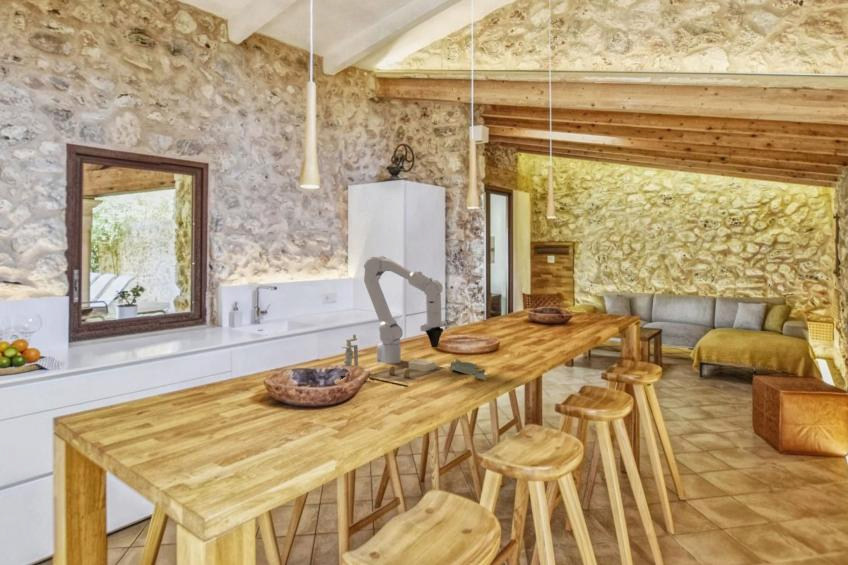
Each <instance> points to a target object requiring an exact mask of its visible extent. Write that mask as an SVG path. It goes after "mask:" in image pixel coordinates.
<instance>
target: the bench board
mask: <svg viewBox="0 0 848 565" xmlns="http://www.w3.org/2000/svg"><path fill="white" fill-rule="evenodd" d="M444 369H446V367H443V366H439V365H438V366H437V365H435V369H432V370H429V371H426V372H424V371H419V370H414V369H409V362H407V363H403V364H400V365H398V366H397V365H390V366H388V368H387V369H384V370H380V371H377V372H374V373H372V374H370V376H371V377H370V376H369V378H368V379H369V380H372V381H376V382H382V383H386V384H390V385H395V386H400V387H404V388H406V387H409V385H407V384H402V383H408V382H410V381H414V380H416V379H419V378H422V377H425V376H428V375H431V374H433V373H436V372H439V371H441V370H444ZM374 377H377V378H374ZM380 378H382V379H380ZM384 379H386V380H384ZM388 380H390V381H388ZM393 381H395V382H393ZM398 382H401V383H398Z"/></svg>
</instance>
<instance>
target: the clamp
mask: <svg viewBox="0 0 848 565" xmlns="http://www.w3.org/2000/svg"><path fill="white" fill-rule="evenodd" d="M356 336H357V335H356V334H352V338H351V337H350V338H348V339H347V338H346V340H345V342H346V344H345V345H342V346H341V349H345V351H344V354H345V355H344V356H345V357H344V361H343V366H342V367H344V366H351V367H352V362H354V363H353V365H354V366H358V367H359V354H358V351H359V350H358V344H352V343H351V342H354V341H357V340H358V338H357V337H356Z"/></svg>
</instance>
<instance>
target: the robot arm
mask: <svg viewBox="0 0 848 565" xmlns="http://www.w3.org/2000/svg"><path fill="white" fill-rule="evenodd" d="M363 268H364V277H363V280H364V281H363V282H364V284H365V288H366V290H367V293H368V295H369V298H370V301H371V303H372V305H373V308H374V311H375V313H376V316H377V318H378V322H379V325H378V330H379V339H380V341H381V342H378V344H377V346H376V362H377V364H379V363H384V364H388V365H389V364H398V363H401V362H402V357H401V356H402V352H401V346H402V345H401V339H402V336H403V334H404V333H403V329H402V327H401V326H400V325H399V323H398V322H397V320H396V319H395V318H394V317H393V316H392V313H391V311H390V307H389V305H388V303H387V300H386V298H385V295H384V292H383V289H382V287H381V285H380V280H381V276H382V275H383V274H384V273H385V272H391V273H394V274H396V275H398V276H400V277H401V278H404V279H405V280H407V281H408V282H407V283H408V284H409V285H411V286H412V287H414V288H416V289H418V290H420V291H421V292H424V293H423V294H424V295H426V296H425V297H426V298H425V300H426V302H425V304H426V306H425V307H426V309H425V310H426V323H424V324H423V325H420V332H425V333H426V335H427V337H428V339H429V342H430V346H431V348H437V347H438V346H439V342H440V340H441V339H440V338H441V335H442V333H443V332H444V327H447V326H448V321H447V320H442V297H441V296H442V295H441V293H442V292H443V290H444V289H443V285H442V283H441V282H440V281H439V280H433V278H432V277H429V276H426V275H424V274H423V272H422V271H421V270H420V271H419V270H418V271H416V270H415V271H413V272H412V271H410V270H408V269H407V268H405V267H404V266H402V265H401V264H398V263H397V262H395V261H394V260H392V259H390V258H388V257H386V256H384V255H380V256H370V257H368V258H367V259H366V261H365V263H364V265H363Z"/></svg>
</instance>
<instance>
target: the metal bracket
mask: <svg viewBox="0 0 848 565" xmlns="http://www.w3.org/2000/svg"><path fill="white" fill-rule="evenodd" d="M478 367H479V365H478V364H477V363H473V362H468V361H461V360H460V359H459V358H457V359H455V361H452V362H451V363H450V367H449V368H450V369H449V371H450V372H453V371H457V372H460V373H463V374H465V375H469V376H473V377H476V378H477V379H478V380H482V381H487V377H486V375H485V373H486V370H485V369H482V370H480V371H479V370H478Z"/></svg>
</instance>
